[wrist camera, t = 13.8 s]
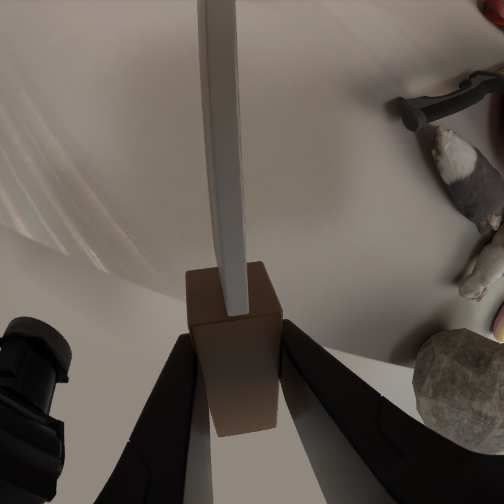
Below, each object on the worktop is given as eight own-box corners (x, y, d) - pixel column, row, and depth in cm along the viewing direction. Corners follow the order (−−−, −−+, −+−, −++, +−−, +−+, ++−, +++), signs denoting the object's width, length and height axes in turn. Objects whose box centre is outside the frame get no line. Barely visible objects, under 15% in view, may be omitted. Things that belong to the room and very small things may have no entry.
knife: (514, 46, 17) (550, 51, 13) (518, 59, 18) (553, 65, 14) (381, 105, 17) (438, 114, 13) (388, 126, 18) (444, 140, 14)
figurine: (503, 169, 16) (407, 325, 23) (552, 228, 21) (484, 331, 28) (466, 148, 20) (384, 292, 27) (527, 209, 25) (466, 307, 32)
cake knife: (264, 383, 11) (280, 440, 9) (210, 391, 11) (220, 450, 8) (253, -61, 4) (286, -115, 2) (158, -57, 4) (148, -114, 1)
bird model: (518, 220, 22) (482, 203, 26) (490, 109, 13) (429, 98, 17) (502, 258, 23) (466, 238, 27) (470, 165, 14) (406, 147, 18)
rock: (545, 432, 12) (571, 321, 18) (386, 354, 26) (449, 275, 32) (485, 489, 18) (528, 398, 25) (376, 426, 32) (434, 355, 39)
